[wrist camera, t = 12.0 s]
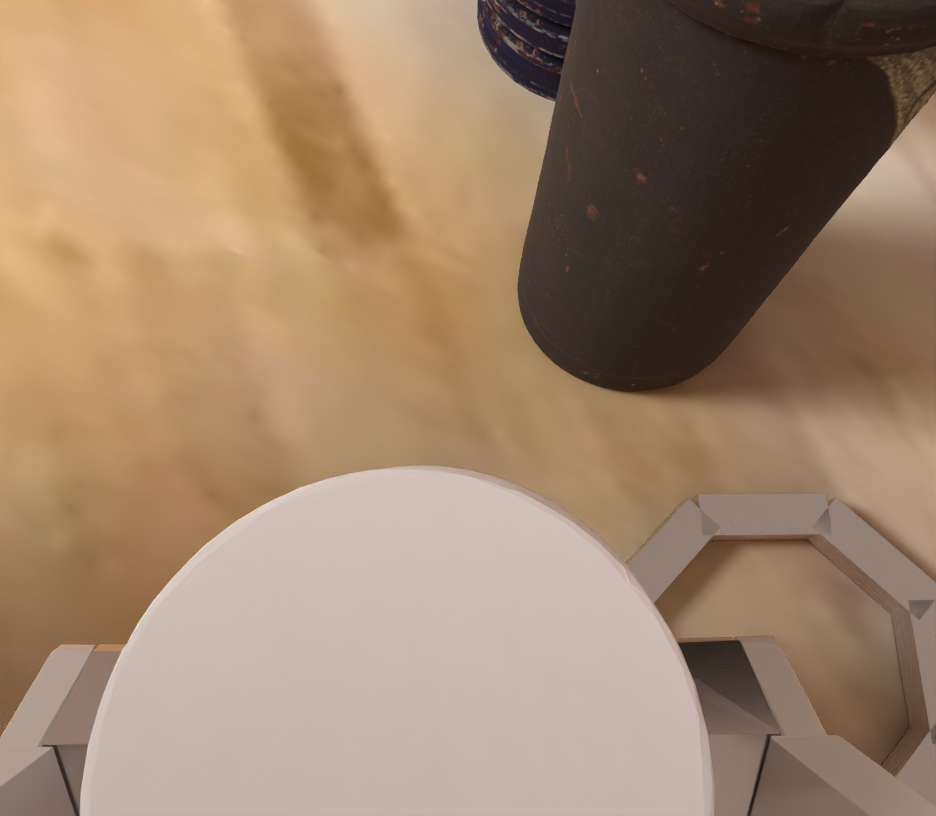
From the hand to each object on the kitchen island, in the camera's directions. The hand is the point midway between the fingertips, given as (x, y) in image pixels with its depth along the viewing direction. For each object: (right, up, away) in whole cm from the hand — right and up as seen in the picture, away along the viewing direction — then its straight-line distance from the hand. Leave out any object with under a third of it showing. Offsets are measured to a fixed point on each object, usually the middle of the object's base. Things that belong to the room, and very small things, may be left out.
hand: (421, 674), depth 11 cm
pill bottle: (0, -3, +6) cm, 6 cm away
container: (+7, +8, +21) cm, 23 cm away
